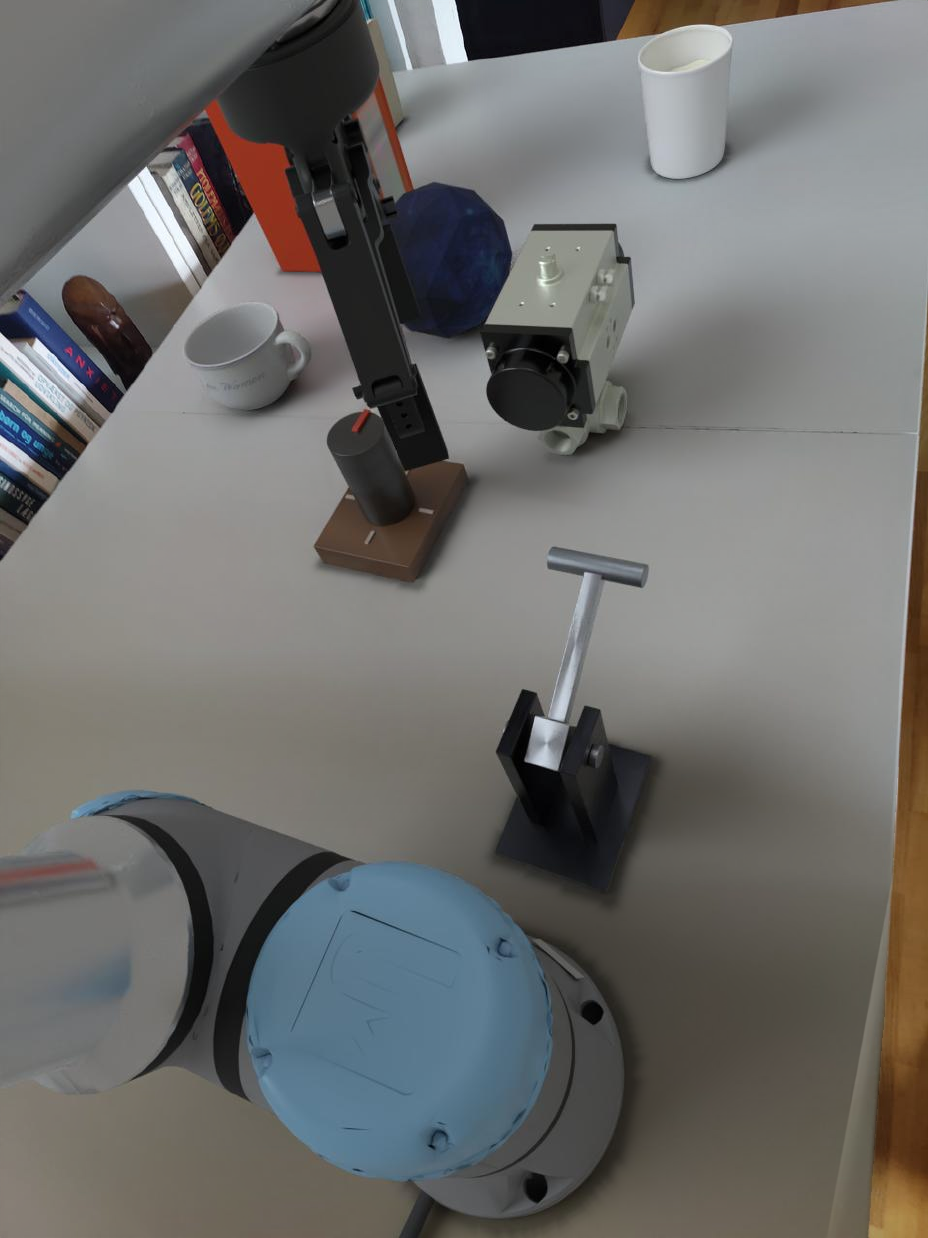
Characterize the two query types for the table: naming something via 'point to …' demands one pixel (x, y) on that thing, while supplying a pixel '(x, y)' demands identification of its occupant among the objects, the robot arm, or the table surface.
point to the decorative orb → (451, 256)
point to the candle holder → (686, 98)
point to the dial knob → (371, 467)
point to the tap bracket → (569, 799)
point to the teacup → (245, 355)
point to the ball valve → (561, 334)
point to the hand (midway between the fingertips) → (413, 385)
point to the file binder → (270, 189)
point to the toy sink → (386, 72)
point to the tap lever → (576, 647)
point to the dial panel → (394, 526)
